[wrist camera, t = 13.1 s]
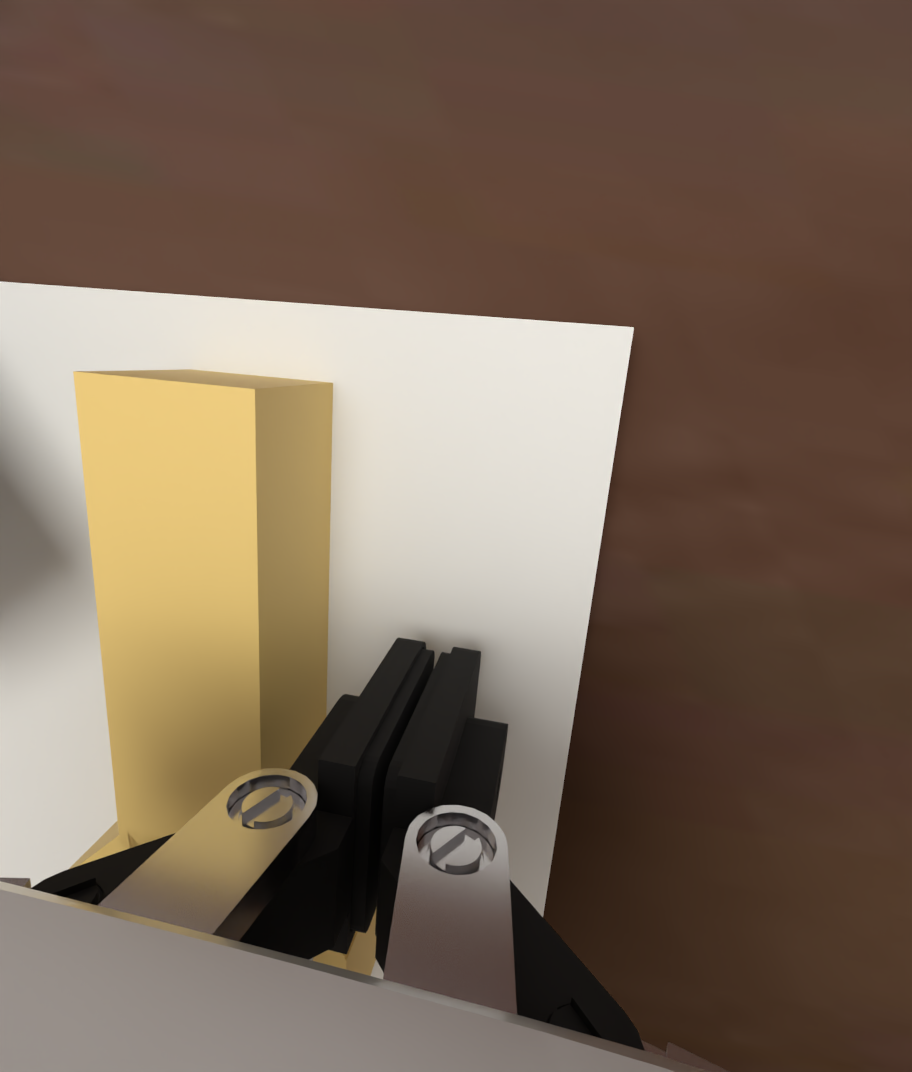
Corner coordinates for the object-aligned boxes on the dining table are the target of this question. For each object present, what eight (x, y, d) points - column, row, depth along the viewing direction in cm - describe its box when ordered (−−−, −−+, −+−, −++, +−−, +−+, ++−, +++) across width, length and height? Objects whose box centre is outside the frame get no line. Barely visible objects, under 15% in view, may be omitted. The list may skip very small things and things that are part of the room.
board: (628, 331, 12) (634, 327, 10) (527, 992, 16) (524, 1039, 15) (-151, 273, 14) (-214, 266, 13) (-39, 852, 19) (-78, 882, 18)
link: (383, 984, 16) (340, 1120, 13) (159, 926, 17) (74, 1041, 14) (419, 390, 11) (366, 400, 9) (115, 362, 12) (-22, 362, 10)
